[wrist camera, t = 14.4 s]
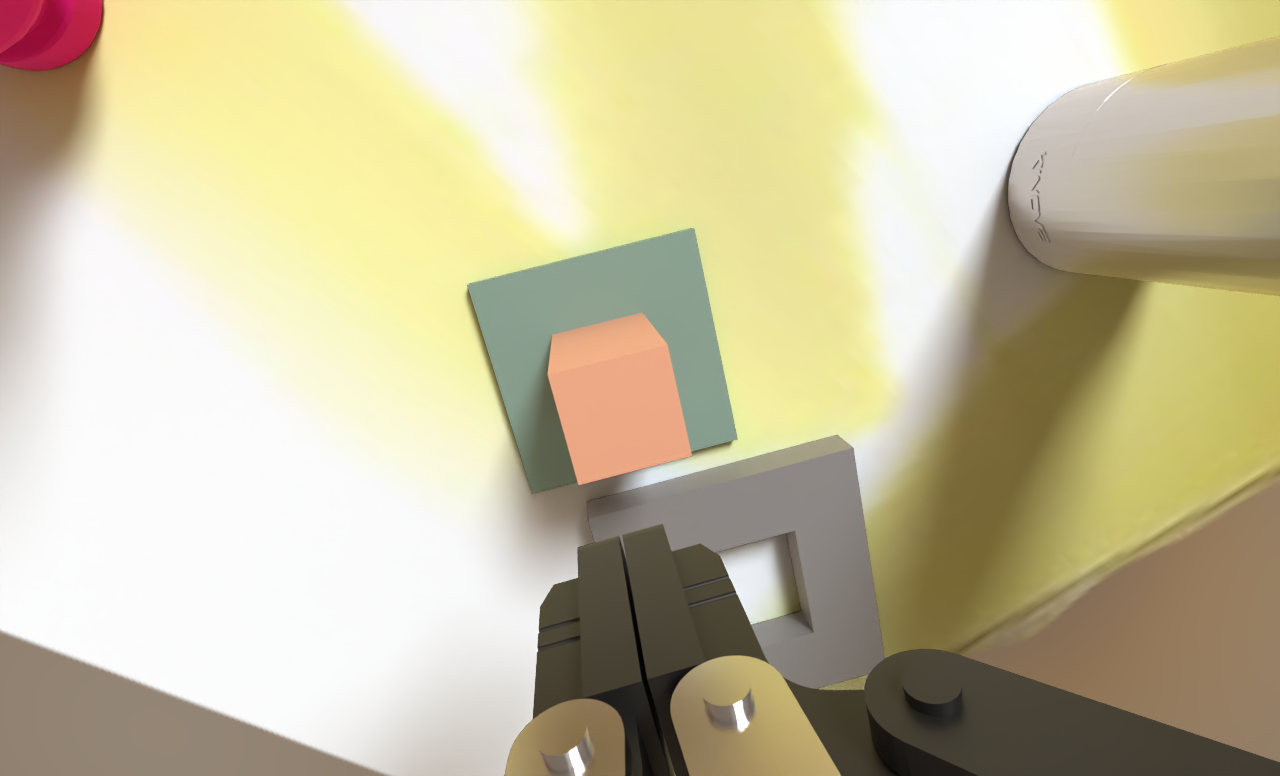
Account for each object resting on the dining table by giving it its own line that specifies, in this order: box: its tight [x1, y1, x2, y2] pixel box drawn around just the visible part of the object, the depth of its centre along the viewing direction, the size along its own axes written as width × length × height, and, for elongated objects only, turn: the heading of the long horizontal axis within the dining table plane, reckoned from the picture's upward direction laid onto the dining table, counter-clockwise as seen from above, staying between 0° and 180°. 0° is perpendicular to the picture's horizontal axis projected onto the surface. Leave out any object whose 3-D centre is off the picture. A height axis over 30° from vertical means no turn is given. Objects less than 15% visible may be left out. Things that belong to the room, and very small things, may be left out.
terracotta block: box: [548, 313, 692, 485], centre depth 28 cm, size 4×4×8 cm
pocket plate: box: [587, 435, 885, 689], centre depth 35 cm, size 14×14×2 cm
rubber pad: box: [467, 228, 737, 494], centre depth 32 cm, size 11×11×1 cm
